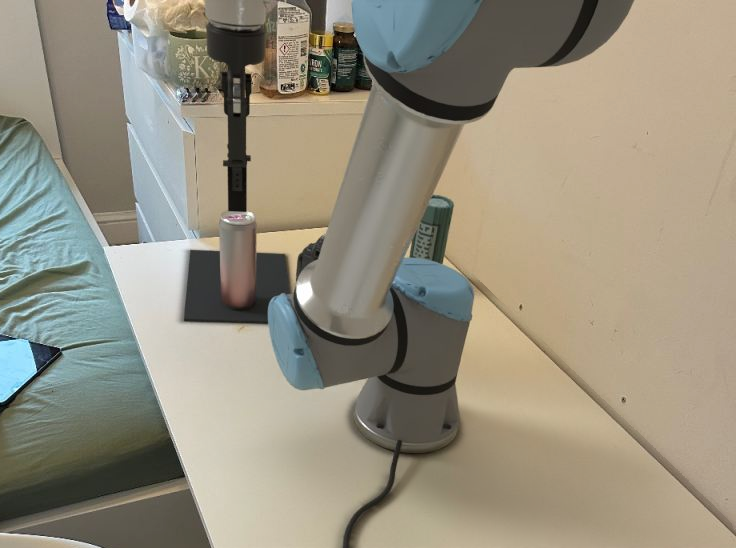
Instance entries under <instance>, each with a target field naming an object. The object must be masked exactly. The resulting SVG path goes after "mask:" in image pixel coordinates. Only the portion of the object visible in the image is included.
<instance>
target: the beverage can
mask: <svg viewBox="0 0 736 548" xmlns="http://www.w3.org/2000/svg"><path fill="white" fill-rule="evenodd" d="M256 219H257V218H256V215H255V214H254V213H253V212H251V211H248V210H247V212H234V211H228V209H227V210H223V211H222V212H221V213H220V215H219V221H218V234H219V235H218V237H219V251H220V280H221V300H222V302H223V304H224V305H225V306H227V307H228V308H231V309H235V310H244V309H248V308H250V307H252V306H253V305H254V303H255V301H256V253H257V244H258V243H257V242H258V241H257V239H258V235H257V234H258V233H257V232H258V229H257V228H258V224H257V221H256Z"/></svg>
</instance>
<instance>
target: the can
mask: <svg viewBox="0 0 736 548" xmlns="http://www.w3.org/2000/svg"><path fill="white" fill-rule="evenodd" d="M454 207H455V203H454V201H453V200H452V199H451V198H448V197H447V196H443V195H439V194H433V195H432V197H431V200H430V202H429V204H428V206H427V208H426V211H425V213H424V215H423V217H422V219H421V222H420V224H419V226H418V228H417V230H416V233H415V235H414V237H413V239H412V241H411V244H410V250H409V257H408V258H421V259H426V260H431V261H434V262H438V263H440V264H443V265H444V259H445V254H446V248H447V245H448V238H449V233H450V228H451V222H452V218H453V213H454Z"/></svg>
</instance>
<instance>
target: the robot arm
mask: <svg viewBox="0 0 736 548" xmlns="http://www.w3.org/2000/svg"><path fill="white" fill-rule="evenodd" d="M634 2H635V0H352V1H351V4H350V5H351V17H352V19H351V20H352V24H353V29H354V35H355V38H356V41H357V43H358V45H359V46H358V47H359V48H360V50H361V53H363V63H364V68H365V69H366V72H367V74H368V75H369V77H370V80H371V81H372V85H371V87H370V92H369V95H368V98H367V101H366V105H365V108H364V111H363V114H362V117H361V119H360V120H361V121H360V123H359V127H358V130H357V132H356V136H355V139H354V143H353V146H352V149H351V152H350V155H349V158H348V162H347V165H346V168H345V171H344V174H343V178H342V181H341V184H340V188H339V190H338V193H337V197H336V200H335V202H334V205H333V206H334V207H333V210H332V212H331V216H330V219H329V222H328V225H327V229H326V231H325V234H326V235H325V238H324V241H323V245H322V248H321V251H320V254H319V257H318V260H315V261H313V262H311V263H310V264H308V265H307V266H306V267H305V268H304V269H303V270H302V271H301V273H300V275H299V277H298V280H297V282H296V281H295V286H294V289H293V292H291V293H289V294H287V295H285V293H282V294H281V295H279V296H275V297H273V298H272V299H271V301H270V303H269V306H268V323H267V324H268V333H269V336H270V342H271V345H272V349H273V353H274V355H275V359H276V362H277V364H278V367H279V369H280V371H281V372H282V375H283V377H284V378H285V380H286V381H287V383H288V384H289V385H290V386H292V387H293V388H294V389H296V390H298V391H309V390H316V389H318V390H324V389H325V388H330V387H336V386H339V385H344V384H349V383H352V382H357V381H362V380H366V381H365V383H364V385H363V386H362V388H361V390H360V391H359V394H358V396H357V398H356V400H355V403H354V412H353V419H354V423H355V425H356V427H357V429H358V430H359V432H360V433H361V434H362V435H363V436H364V437H365V438H367V439H368V440H369V441H371V442H372V443H374V444H375V445H377V446H380V447H382V448H385V449H387V450H391V451H393V456H392V461H391V464H390V470H389V477H388V482H387V485H386V487H385V488H384V489H383V491H382V492H381V493H380V494H379V495H378V496H376V497H375V498H374V499H372V500H370V501H369V502H367V503H366V504H364V505H363V506H361V507H360V508H359V509H358V510H356V511H355V513H354V514H352V517H350V520H349V522H348V524H347V526H346V529H345V531H344V533H343V534H344V535H343V541H342V548H350V538H351V534H352V531H353V529H354V526H355V524H356V523H357V521H358V519H359V518H360V517H361V516H362V515H363V514H364V513H365V512H367V511H368V510H370V509H371V508H373V507H374V506H376V505H378V504H379V503H380V502H382V501H383V500H384V499H385V498H386V497H387V496H388V495H389V493H390V492H391V491H392V489H393V487H394V483H395V479H396V471H397V466H398V461H399V457H400V453H403V454H405V453H406V454H426V453H431V452H435V451H438V450H441V449H443V448H444V447H446V446H448V445H449V444H450V443H452V441H454V440H455V438H456V435H457V434H458V429H459V424H460V422H461V421H460V420H461V416H460V408H459V407H460V406H459V399H458V392H457V387H456V386H457V385H456V382H457V378H458V373H459V369H460V368H459V367H460V365H461V362H462V361H461V360H462V356H463V351H464V347H465V344H466V340H467V335H468V331H469V327H470V324H471V321H472V319H473V314H472V313H473V308H474V307H473V306H474V300H475V290H474V287H473V285H472V283H471V282H470V280H469V279H468V278H467V277H466V276H464V275H463V274H462V273H461V272H459V271H458V270H456V269H454V268H452V267H451V266H448V265H446V264H444V263H443V264H440V263H438V262H434V261H431V260H426V259H421V258H409V257H405V256H406V254H407V252H408V250H409V248H410V247H411V243H412V239H413V237H414V235H415V233H416V230H417V228H418V226H419V224H420V222H421V219H422V217H423V215H424V213H425V211H426V208H427V206H428V204H429V202H430V200H431V197H432V195H434V193H435V191H436V188H437V187H438V184H439V182H440V180H441V178H442V176H443V173H444V171H445V169H446V167H447V165H448V162H449V160H450V157H451V155H452V153H453V151H454V149H455V147H456V144H457V142H458V141H459V138H460V135H461V133H462V131H463V129H464V127H465V125H467V124H471V123H474V122H477V121H480V120H482V119H483V118H485V117H486V116H487V115H488V114H489V113H490V112H491V110H492V108H493V107H494V105H495V103H496V101H497V99H498V97H499V94H500V92H501V91H502V89H503V87H504V85H505V82H506V80H507V78H508V77H509V74H510V73H511V72H512V71H513V70H514V69H530V68H547V67H559V66H564V65H569V64H572V63H575V62H579V61H580V60H582V59H584V58H586V57H588V56H589V55H592V54H593V53H594V52H595V51H597V50H599V48H601V47H602V46H603V45H605V44H606V43H607V42H608V41H609V40H610V39H611V38H612V37H613V36H614V34H615V33H616V32H618V30H619V29H620V28H621V26H622V24H623V23H624V21H625V20H626V19H627V17H628V15H629V13H630V11H631V8H632V6H633V5H634ZM271 3H272V0H204V12H205V13H204V14H205V17H206V18H207V19H208V20H209V22H207V24H206V27H205V30H206V31H205V33H206V53H207V56H208V58H210V59H211V60H213V61H215V62H217V63H224V64H226V65H227V70H226V71H221V78H220V79H221V81H220V82H221V92H222V94H223V112H224V114H225V116H227V144H226V147H227V151H228V152H227V153H226V156H227V159H223V160H222V167H227V210H228V211H234V212H247V211H248V210H247V209H248V208H247V207H248V206H247V202H248V199H247V197H248V196H247V195H248V193H247V192H248V191H247V190H248V189H247V187H248V185H247V184H248V183H247V179H248V177H247V176H248V173H247V171H248V169H247V168H248V162H252V156H251V155H250V154H247V117H248V116H249V115H250V110H251V109H250V107H251V106H250V105H251V104H250V103H251V101H250V100H251V99H250V97H251V94H252V91H253V89H252V88H253V87H252V85H253V84H252V73H248V72H246V67H247V66H249V65H250V66H255V65H259V64H261V63H263V62H264V61H265V60H266V46H267V45H266V44H267V40H266V39H267V31H266V30H265V28H264V26H262V25H264V24H265V23H266V18H267V17H266V14H267V13H266V11H267V7H266V5H270V4H271Z"/></svg>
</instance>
